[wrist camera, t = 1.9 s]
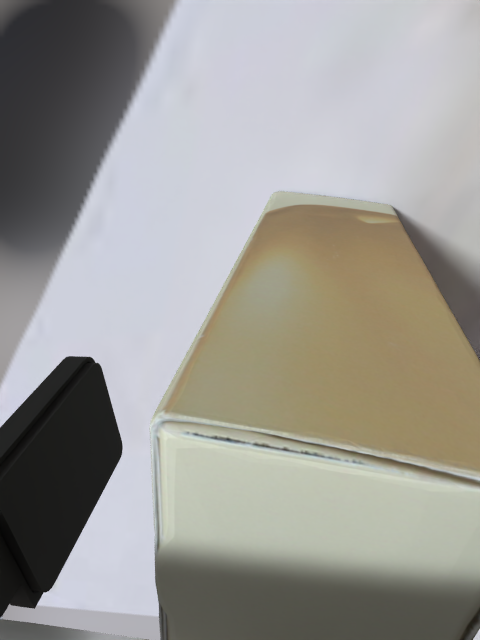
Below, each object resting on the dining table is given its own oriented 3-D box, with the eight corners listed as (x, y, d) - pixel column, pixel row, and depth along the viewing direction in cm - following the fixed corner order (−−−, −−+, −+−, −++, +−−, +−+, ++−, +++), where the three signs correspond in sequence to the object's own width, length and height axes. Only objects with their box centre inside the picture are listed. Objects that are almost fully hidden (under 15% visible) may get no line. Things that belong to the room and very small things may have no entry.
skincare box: (358, 350, 17) (407, 753, 7) (255, 334, 18) (157, 688, 8) (397, 193, 14) (596, 509, 4) (270, 180, 15) (135, 424, 4)
